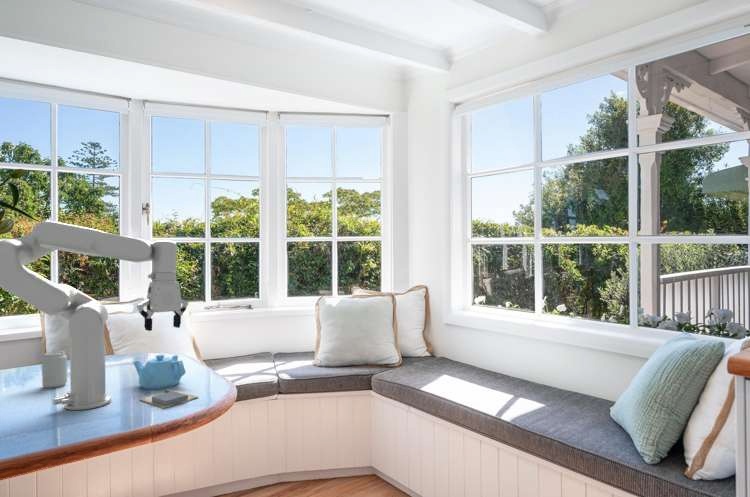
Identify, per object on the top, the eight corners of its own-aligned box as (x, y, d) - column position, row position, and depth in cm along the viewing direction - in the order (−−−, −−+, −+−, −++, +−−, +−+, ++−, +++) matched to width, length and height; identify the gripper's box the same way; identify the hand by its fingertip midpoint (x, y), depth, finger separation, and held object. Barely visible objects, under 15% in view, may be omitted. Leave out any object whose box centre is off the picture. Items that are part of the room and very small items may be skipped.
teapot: (139, 394, 163) (139, 362, 163) (133, 383, 175) (132, 354, 175) (186, 386, 171) (186, 356, 171) (177, 377, 184) (177, 349, 184)
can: (37, 387, 172) (37, 353, 172) (59, 382, 179) (59, 349, 179) (49, 389, 169) (49, 355, 169) (71, 384, 175) (71, 351, 175)
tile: (186, 400, 153) (165, 406, 148) (172, 396, 158) (151, 401, 152) (186, 395, 153) (165, 401, 148) (172, 391, 158) (151, 396, 152)
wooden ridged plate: (163, 408, 147) (163, 403, 147) (139, 400, 155) (139, 395, 155) (197, 398, 157) (197, 393, 157) (173, 391, 165) (173, 386, 165)
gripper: (143, 278, 152) (142, 333, 152) (194, 277, 166) (192, 327, 165) (132, 277, 157) (131, 330, 156) (182, 276, 170) (181, 325, 170)
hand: (162, 328), depth 161 cm, fingers open, 9 cm apart
